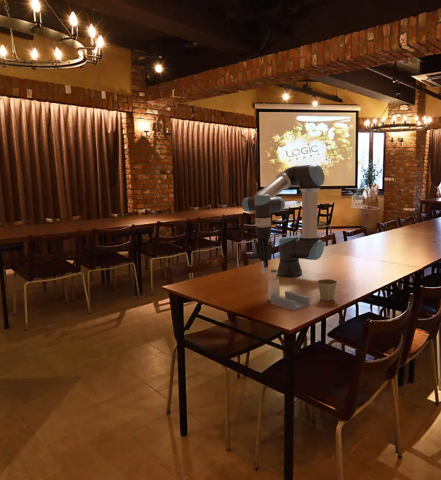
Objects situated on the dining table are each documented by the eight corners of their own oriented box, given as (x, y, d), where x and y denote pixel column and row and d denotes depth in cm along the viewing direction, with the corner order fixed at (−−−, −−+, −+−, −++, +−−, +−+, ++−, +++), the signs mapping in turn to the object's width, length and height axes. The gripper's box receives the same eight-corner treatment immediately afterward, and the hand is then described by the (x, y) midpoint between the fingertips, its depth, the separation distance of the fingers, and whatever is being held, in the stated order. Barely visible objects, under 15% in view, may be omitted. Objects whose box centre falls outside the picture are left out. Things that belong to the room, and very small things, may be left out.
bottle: (266, 299, 193) (265, 270, 190) (274, 297, 196) (273, 268, 193) (274, 301, 188) (273, 272, 186) (282, 299, 191) (281, 270, 189)
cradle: (271, 303, 186) (270, 295, 185) (287, 298, 192) (287, 290, 192) (292, 310, 175) (292, 302, 174) (309, 304, 181) (309, 296, 180)
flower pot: (333, 295, 193) (333, 278, 192) (340, 301, 184) (340, 283, 182) (314, 296, 193) (314, 279, 191) (320, 302, 183) (320, 284, 182)
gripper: (248, 226, 195) (250, 272, 198) (266, 228, 184) (268, 277, 188) (260, 224, 199) (261, 270, 202) (278, 226, 188) (279, 274, 192)
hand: (264, 273), depth 195 cm, fingers closed
